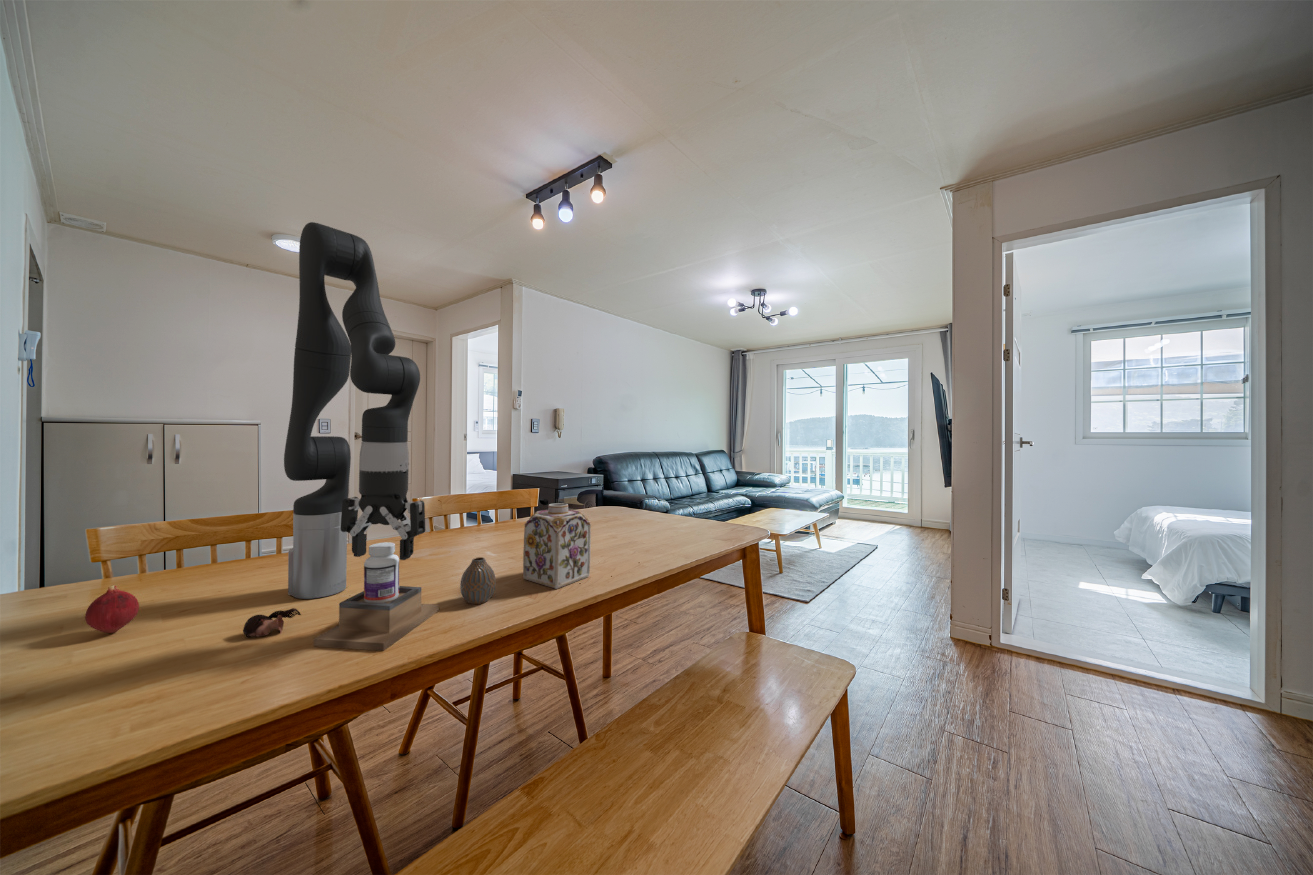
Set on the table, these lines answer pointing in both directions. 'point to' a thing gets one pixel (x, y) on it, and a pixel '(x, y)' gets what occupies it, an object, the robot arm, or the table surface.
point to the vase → (478, 582)
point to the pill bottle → (381, 574)
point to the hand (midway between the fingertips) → (382, 557)
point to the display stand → (377, 621)
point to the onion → (112, 610)
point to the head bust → (267, 623)
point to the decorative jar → (556, 546)
